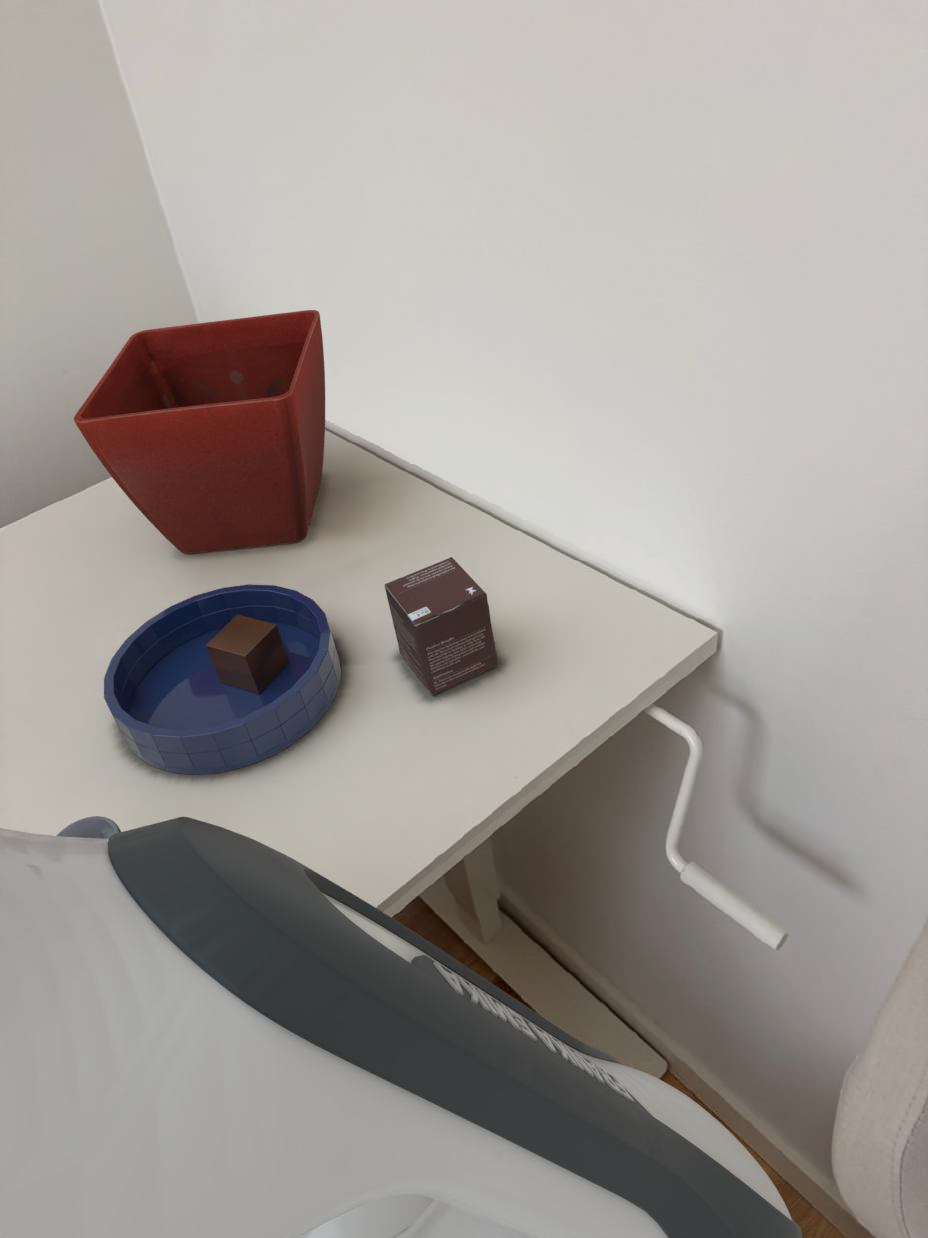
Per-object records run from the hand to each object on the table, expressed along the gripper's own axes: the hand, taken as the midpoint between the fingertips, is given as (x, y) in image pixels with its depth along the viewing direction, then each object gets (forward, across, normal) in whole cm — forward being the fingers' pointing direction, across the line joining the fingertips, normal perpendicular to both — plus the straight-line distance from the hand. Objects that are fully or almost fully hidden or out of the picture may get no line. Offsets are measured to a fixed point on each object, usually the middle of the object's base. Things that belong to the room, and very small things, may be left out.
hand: (211, 1047), depth 46 cm
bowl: (+30, -15, +6) cm, 34 cm away
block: (+30, -18, +5) cm, 35 cm away
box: (+20, -29, +6) cm, 36 cm away
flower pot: (+52, -30, +6) cm, 61 cm away
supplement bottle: (+12, 0, +6) cm, 13 cm away
